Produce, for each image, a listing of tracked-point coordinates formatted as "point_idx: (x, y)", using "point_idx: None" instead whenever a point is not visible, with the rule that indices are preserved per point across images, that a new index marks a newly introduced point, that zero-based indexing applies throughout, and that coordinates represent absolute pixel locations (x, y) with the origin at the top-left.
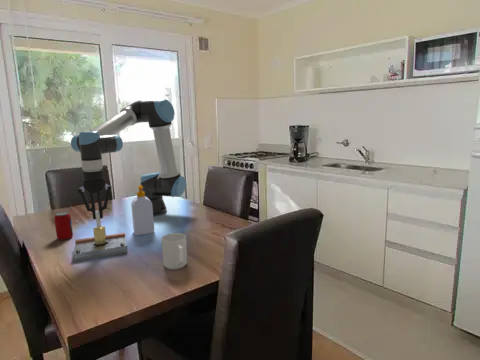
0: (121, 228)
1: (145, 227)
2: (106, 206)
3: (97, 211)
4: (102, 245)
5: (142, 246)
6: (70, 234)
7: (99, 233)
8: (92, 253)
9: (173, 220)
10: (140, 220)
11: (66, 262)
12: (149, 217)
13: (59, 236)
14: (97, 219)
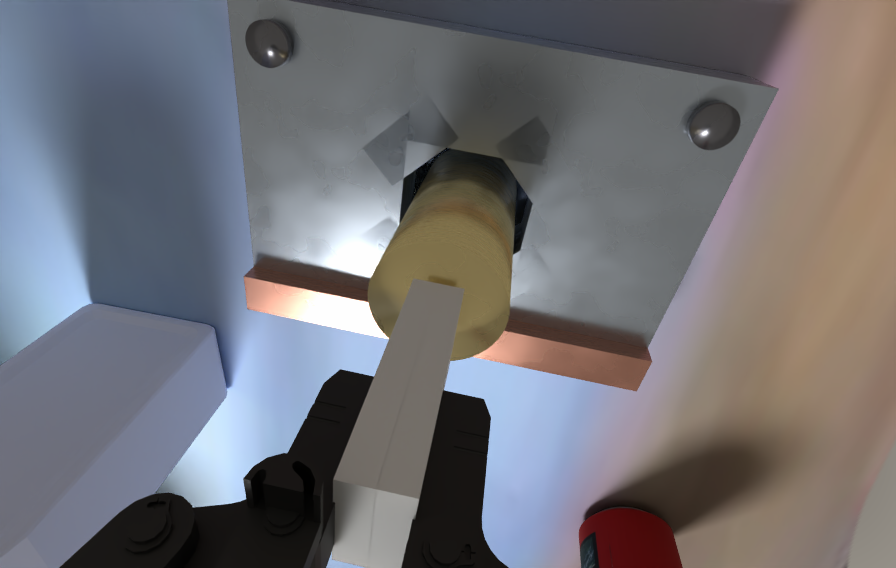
0: None
1: (110, 345)
2: (85, 554)
3: (369, 514)
4: (457, 164)
5: (142, 69)
6: (601, 528)
7: (455, 219)
8: (580, 49)
9: None
10: (91, 397)
11: (809, 92)
12: (3, 393)
13: (669, 537)
14: (424, 365)
